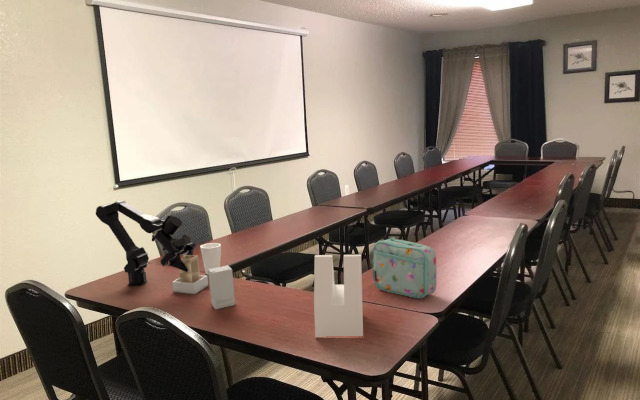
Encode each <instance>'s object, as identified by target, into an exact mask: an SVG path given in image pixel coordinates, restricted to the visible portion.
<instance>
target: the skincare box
mask: <svg viewBox="0 0 640 400" xmlns="http://www.w3.org/2000/svg"><path fill="white" fill-rule="evenodd" d="M207 276H208V285H209V292H210V301H211V305H212V307H213V308H214V310H219V309H223V308H228V307H232V306H235V305H236V297H235V287H234V276H233V269H232V268H231V267H230V266H229V265H228V264H227V265H222V266H220V267H217V268H212V269H208V275H207Z"/></svg>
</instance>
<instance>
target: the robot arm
mask: <svg viewBox="0 0 640 400" xmlns="http://www.w3.org/2000/svg"><path fill="white" fill-rule="evenodd" d="M119 213H121V214H122V215H124V216H126V218H129V219H131V220H132V221H134V222H136V223H137V224H138V225H139V226H140V228H141V229H142V230H143V231H144V232H146V233H147V234H151V241H152V242H155V241H157V242H158V243H159V244H160V246H162V251H163V252H165V251H166V253H165V254H164V255H163V257H162V258H161V259H160V264H161V265H162V267H166V266H168V267H172V268H176V269H181V270H183V271H186V272H187V271H188V269H187V267H186V266H185V265H184V263H183V262H182V261H181V259H180V258H181V256H182V257H184V256H186V255H194V254H193V253H194V250H195V249H196V247H197V245H196V244H195V243H194V242H192V241H191V240H192V236H191V235H190V234H189V233H185V234H182V237H181V238H178V237H175V238H174V237H173V235H175V234H176V233H177V232H178V231H179V229H180V228H181V227H182V226H183V222H182V220H181V219H180V218H178V217H177V216H174V215H172V214H169V215H167V217H166V219H165V220H163V219H161V218H160V217H157V216H154V215H150V214H146V213H144V212H143V211H140V210H139V209H138V208H136V207H134V206H132V205H131V204H130V203H127V202H126V200H123V199H122V200H118V201H115V202H113V203H107V204H103V205H98V206H97V207H96V209H95V216H96V217H97V218H98V220H100V222H102V223H103V224H105V225H107V226H108V227H109V229H110V230H111V232H112V233H113V235H114V237H115V238H116V239H117V241H118V243H119V244H120V246H121V247H122V248H123V250H124V252H125V258H126V259H125V260H126V262H127V263H126V265H124V267H123V270H124V272H125V273H127V275H128V276H127V277H128V283H127V286H142V285H143V284H145V283H146V282H147V281H148V279H147V274H146V271H145V268H147V267H148V263H149V259H150V258H149V257H150V256H149V253H148V252H147V251H146V250H145V248H144V247H143V246H141V247H139V246H137V245H136V243H135V242H134V240H133V239H132V238H131V236H130V235H129V233H128V231H127V230H126V228H125V227H124V225H123V224H122V222H121V221H120V219H119ZM152 233H154V234H152Z"/></svg>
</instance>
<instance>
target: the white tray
mask: <svg viewBox="0 0 640 400" xmlns="http://www.w3.org/2000/svg"><path fill="white" fill-rule="evenodd" d="M199 275H200V279H199V280H198V281H196V282H194V283H188V282H180V277H178V278H176V279H175V280H173V281H172V290H173V293H177V294H178V293H180V294H189V295H196V294H197V293H199V292H201V291H202V290H204V289H205V288H207V287H208V286H209V275H205V274H204V275H203V274H199Z"/></svg>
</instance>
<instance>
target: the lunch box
mask: <svg viewBox="0 0 640 400" xmlns="http://www.w3.org/2000/svg"><path fill="white" fill-rule="evenodd" d="M372 253H373V254H372V255H373V257H372V261H371V266H372V279H373V283H374V285H375V287H376V288H377V289H379V290H381V291H383V292H386V291H387V293H390V292H391V293H390V294H394V293H395V295H398V294H399V295H400V296H403V295H404V296H405V297H407V296H409V297H408V298H412V297H413V299H423V298H425V297H426V296H428V295H432V294H434V293H435V292H436V289H437V253H436V251H435V249H434V248H433V247H430V246H428V245H425V244H422V243H418V242H412V241H408V240H404V239H396V237H395V236H392V237H389V239H388V238H387V239H384V240H378V241H377V242H375V244H374V246H373V249H372ZM399 295H398V296H399Z"/></svg>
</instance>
